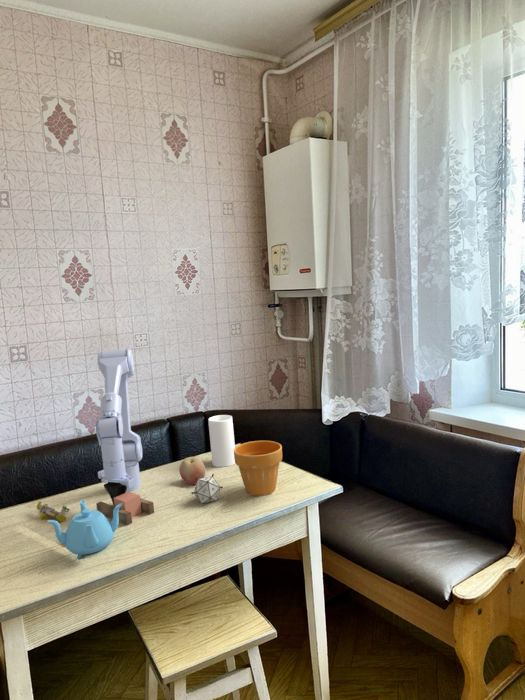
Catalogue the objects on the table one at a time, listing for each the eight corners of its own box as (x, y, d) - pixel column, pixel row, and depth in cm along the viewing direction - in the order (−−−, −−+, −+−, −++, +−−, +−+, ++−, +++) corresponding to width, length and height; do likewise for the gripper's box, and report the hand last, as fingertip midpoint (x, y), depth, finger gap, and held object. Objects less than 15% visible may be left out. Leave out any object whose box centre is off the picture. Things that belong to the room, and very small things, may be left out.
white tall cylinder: (209, 467, 182) (205, 421, 180) (215, 459, 190) (211, 415, 188) (233, 466, 181) (229, 420, 179) (238, 458, 189) (234, 414, 187)
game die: (213, 517, 151) (216, 498, 145) (186, 507, 153) (187, 487, 146) (225, 492, 158) (228, 472, 151) (198, 482, 159) (200, 462, 152)
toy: (53, 501, 159) (77, 510, 148) (45, 518, 157) (68, 529, 146) (38, 495, 155) (60, 504, 145) (29, 513, 154) (51, 523, 143)
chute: (97, 517, 149) (96, 503, 149) (124, 505, 156) (122, 492, 155) (128, 529, 140) (126, 514, 140) (154, 516, 147) (153, 502, 146)
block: (115, 515, 147) (113, 498, 146) (130, 508, 150) (128, 491, 150) (126, 519, 143) (124, 501, 143) (141, 512, 147) (139, 495, 146)
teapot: (93, 567, 122) (88, 525, 121) (49, 559, 127) (43, 519, 126) (128, 540, 134) (123, 501, 133) (86, 534, 139) (81, 497, 138)
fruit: (182, 489, 165) (179, 464, 164) (179, 480, 172) (177, 456, 171) (207, 484, 166) (205, 460, 165) (204, 476, 174) (202, 452, 173)
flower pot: (283, 479, 166) (280, 438, 165) (286, 497, 152) (283, 453, 150) (237, 483, 166) (234, 442, 164) (237, 501, 152) (233, 457, 150)
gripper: (86, 460, 149) (92, 506, 151) (116, 468, 140) (122, 518, 142) (108, 452, 155) (113, 497, 156) (138, 460, 145) (144, 508, 147)
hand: (119, 506), depth 149 cm, fingers closed
